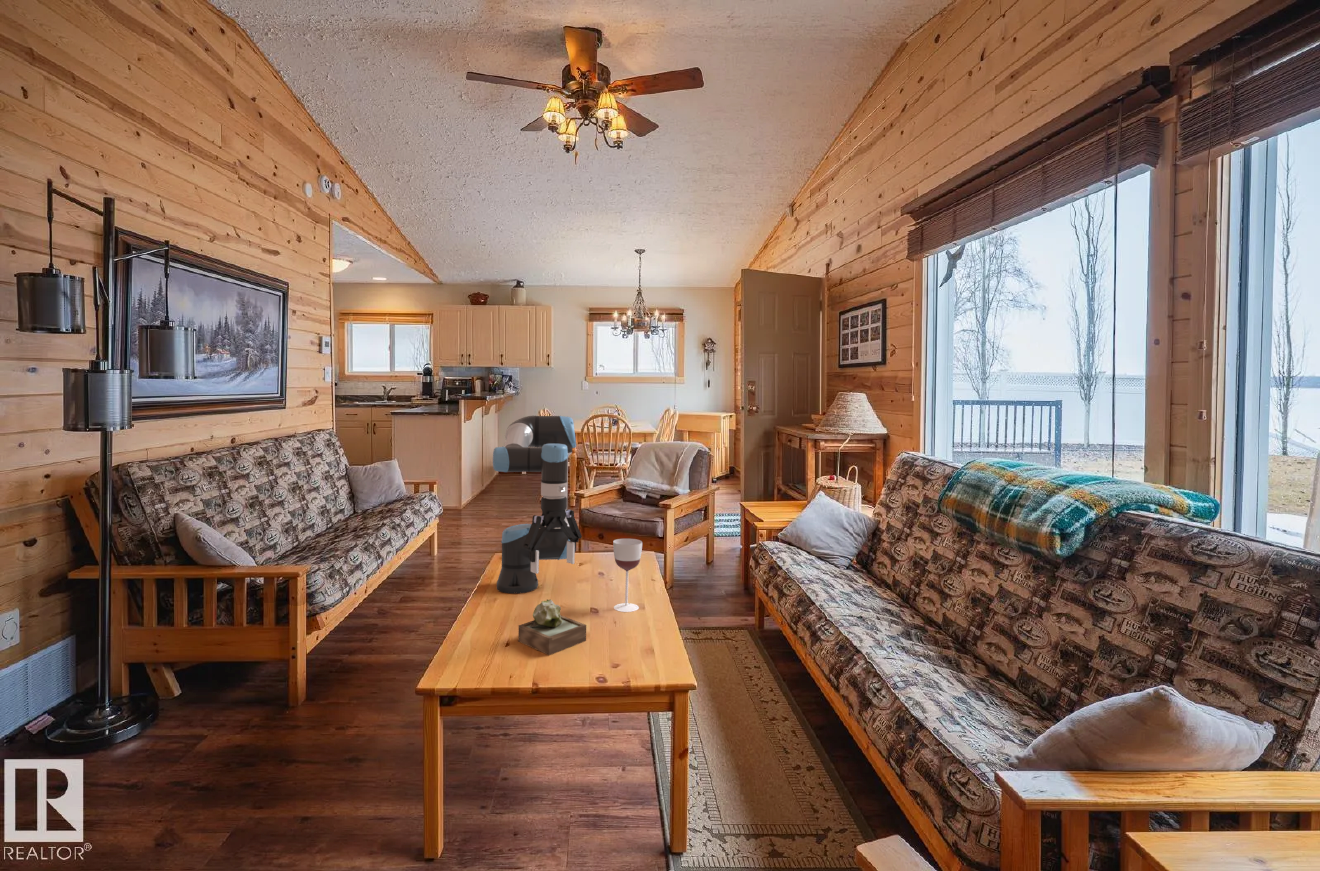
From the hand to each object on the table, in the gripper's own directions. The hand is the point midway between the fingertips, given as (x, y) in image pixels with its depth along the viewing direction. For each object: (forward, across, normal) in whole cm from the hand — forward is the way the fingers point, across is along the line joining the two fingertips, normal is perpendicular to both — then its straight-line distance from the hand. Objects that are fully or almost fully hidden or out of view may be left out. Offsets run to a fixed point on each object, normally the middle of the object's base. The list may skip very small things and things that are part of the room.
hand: (553, 567), depth 180 cm
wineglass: (+22, +35, +3) cm, 41 cm away
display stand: (+22, -1, -1) cm, 22 cm away
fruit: (+18, -1, +1) cm, 18 cm away
